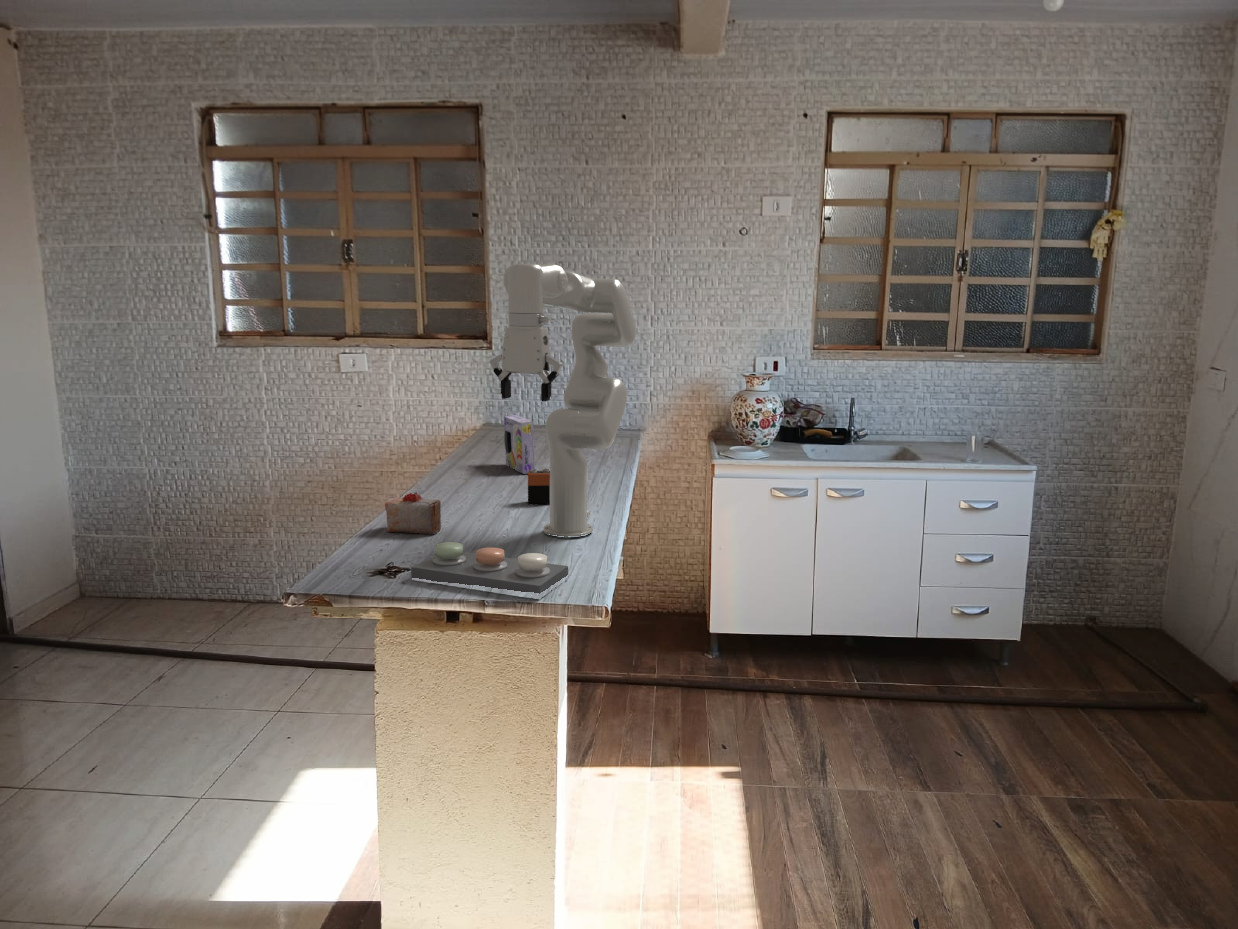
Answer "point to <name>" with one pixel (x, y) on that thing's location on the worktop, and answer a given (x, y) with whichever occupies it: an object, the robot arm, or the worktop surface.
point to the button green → (448, 550)
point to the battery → (539, 486)
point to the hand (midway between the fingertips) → (525, 399)
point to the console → (488, 573)
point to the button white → (532, 561)
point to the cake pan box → (519, 443)
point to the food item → (413, 514)
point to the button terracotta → (490, 555)
